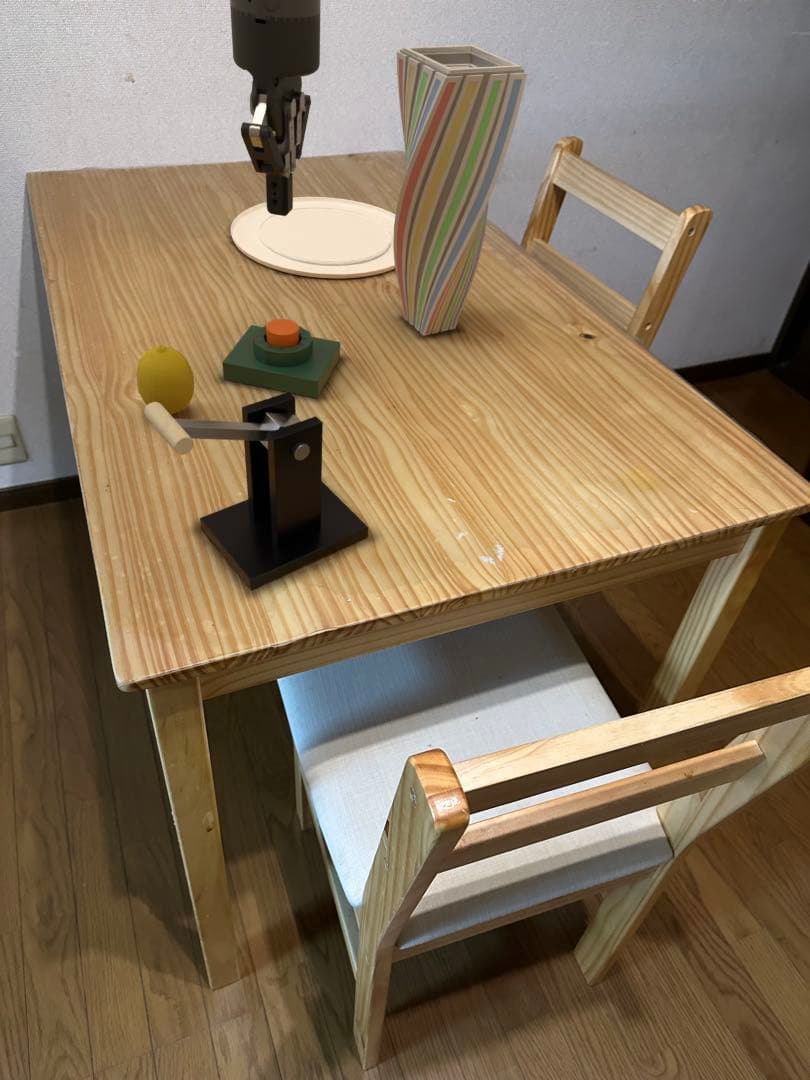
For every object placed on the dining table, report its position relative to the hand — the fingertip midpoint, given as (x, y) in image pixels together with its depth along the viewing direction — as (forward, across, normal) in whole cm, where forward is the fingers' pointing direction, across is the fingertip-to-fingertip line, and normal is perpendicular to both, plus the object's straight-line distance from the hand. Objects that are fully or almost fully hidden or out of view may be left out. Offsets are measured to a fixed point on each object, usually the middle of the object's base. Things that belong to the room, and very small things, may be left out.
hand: (279, 212), depth 76 cm
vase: (+18, -17, +14) cm, 28 cm away
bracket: (+18, +26, +9) cm, 33 cm away
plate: (+18, -37, -6) cm, 42 cm away
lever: (+6, +30, +6) cm, 31 cm away
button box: (+18, 0, 0) cm, 18 cm away
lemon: (+18, +12, -8) cm, 23 cm away
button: (+14, 0, 0) cm, 14 cm away
